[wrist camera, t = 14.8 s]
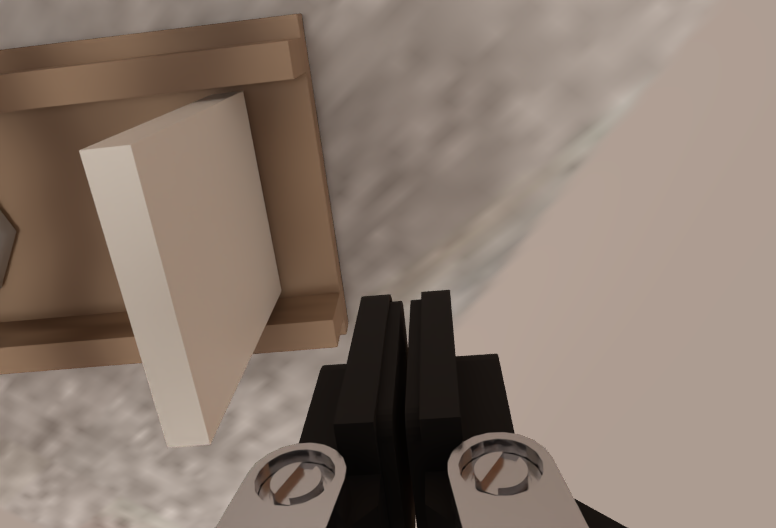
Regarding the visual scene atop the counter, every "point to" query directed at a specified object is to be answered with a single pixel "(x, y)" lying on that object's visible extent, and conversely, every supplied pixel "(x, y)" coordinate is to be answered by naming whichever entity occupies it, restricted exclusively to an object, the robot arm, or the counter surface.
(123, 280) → the rectangular block
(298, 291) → the wooden crate tray
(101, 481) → the counter surface
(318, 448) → the robot arm
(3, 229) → the flask
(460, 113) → the counter surface
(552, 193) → the counter surface
